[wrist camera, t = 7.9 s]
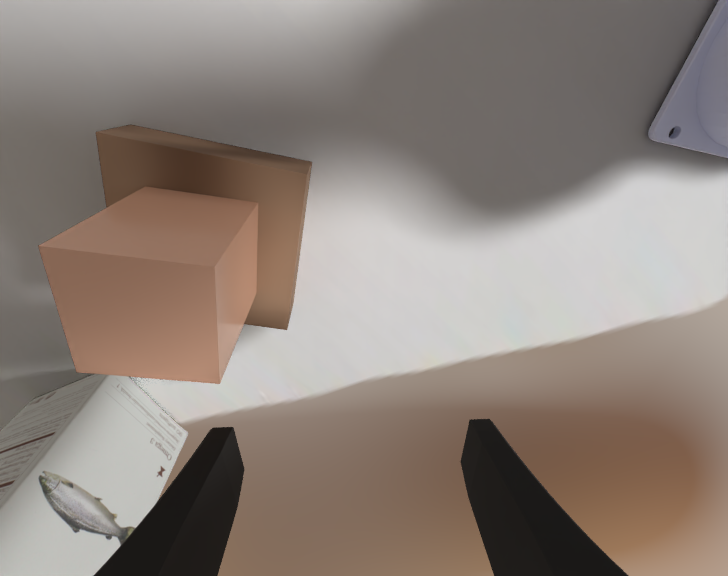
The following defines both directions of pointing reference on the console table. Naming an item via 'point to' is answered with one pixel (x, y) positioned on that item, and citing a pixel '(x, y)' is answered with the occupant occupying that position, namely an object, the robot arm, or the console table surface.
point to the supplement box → (81, 475)
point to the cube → (156, 284)
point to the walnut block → (221, 179)
